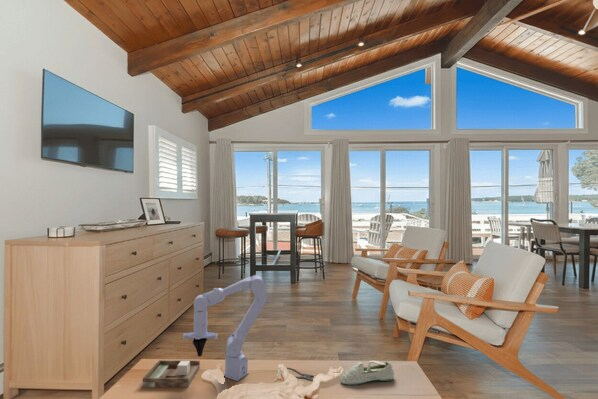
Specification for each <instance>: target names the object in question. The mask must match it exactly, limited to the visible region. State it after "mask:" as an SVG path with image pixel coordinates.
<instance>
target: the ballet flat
mask: <svg viewBox="0 0 598 399" xmlns="http://www.w3.org/2000/svg"><path fill="white" fill-rule="evenodd" d="M372 364H374V365H372ZM375 364H376V365H375ZM391 364H392V363H391V362H390V361H385V362H381V361H378V360H369V361H368V364H367V366H365V365H364V363H363V362H361V361H358V362H357V363H356V364H353V366H351V367H349V368H348V369H346V370H345V371H343V372H342V373H341V374H340V384H341V383H342V385H344V384H346V385H345V386H357V385H361V384H365V383H367V382H372V381H374V382H375V381H383V382H388V381H389V382H390V381H392V380H393V379H394V378H395V372H394V369H393V366H392V365H391ZM371 365H372V366H371Z"/></svg>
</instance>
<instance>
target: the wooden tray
mask: <svg viewBox="0 0 598 399" xmlns="http://www.w3.org/2000/svg"><path fill="white" fill-rule="evenodd" d="M181 361H182V360H181V359H180V360H178V359H177V360H170V359H169V360H165V359H164V360H163V359H161V360H160V359H159V360H158V361H157V362H156V363H155V364H154V365H153V366H152V367H151V369H150V370H149V371H148V372H147V373H146V374H145V375H144V377H143V378H142V388H189V386H190V385H191V384H192V382H193V380H194V379H195V378H196V375H197V373H198V372H199V370H200V365H201V363H200V361H201V360H189V361H190V371H189V372H188V374H187V375H177V369H178V364H179V363H180V362H181Z"/></svg>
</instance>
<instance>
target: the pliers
mask: <svg viewBox="0 0 598 399" xmlns="http://www.w3.org/2000/svg"><path fill="white" fill-rule="evenodd" d="M287 370H291V371H293V372H295V373H297V374H298V375H300V376H295V377H296V378H298V379H303V380H307V381H309V382H313V381H312V380H313V378H314V376H315V375H313V374H308V373H302V372H300V371H298V370H297V369H295V368H292V367H287Z"/></svg>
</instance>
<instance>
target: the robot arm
mask: <svg viewBox="0 0 598 399" xmlns="http://www.w3.org/2000/svg"><path fill="white" fill-rule="evenodd" d="M243 290H244V291H247V292H250V291H251V292H252V293H253V296H254V299H253V301H252V303H251V305H250V306H249V308H248V310H247V312H246V313H245V314H244V316H243V318H242V319H241V321H240V323H239V325H238V327H237V328H236V329H235V330H234V331H233V333H232V334H231V335H229V336H228V337H227V339H226V351H225V358H224V361H225V366H224V367H225V368H224V371H223V372H224V375H225V377H224V378H228V379H231V380H234V381H235V382H237V381H239V380H241V379H242V378H244V377H245V376H247V375H248V374H249V373H250V372H249V371H248V367H249V366H248V363H249V362H248V360H249V359H248V358H247V356H246V355H244V354H243V350H242V347H243V345H244V343H245V340H246V337H247V334H248V333H249V331H250V330H251V329H252V326H253V324H254V323H255V321H256V320H257V318H258V316H259V315H260V312H261V311H262V309H263V307H264V306H265V305H266V302H267V287H266V284H265V282H264V280H263V278H262V276H261V275H259V274H254V275H252V276H247V277H246V278H243V279H241V280H239V281H237V282H235V283H233V284H231V285H229V286H227V287H224V288H222V287H218V288H217V287H214V288H213V289H212V290H211V291H208V292H203V293H202V294H199V295H197V296H196V297H195V298H194V301H193V308H194V310H193V332H184V333H183V334H182V339H183V340H186V339H187V340H189V339H190V340H191V339H193V341H192V344H193V345H194V347H195V350H196V353H197V357H202V356H203V352H204V348H205V345H206V342H207V340H211V339H212V340H218V338H219V337H218V336H219V335H218V333H215V332H208V307H211V306H213V305H215V304H218V303H220V302H222V301H224V300H225V299H226V297H227V296H230V295H232V294H234V293H238V292H240V291H243Z"/></svg>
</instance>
